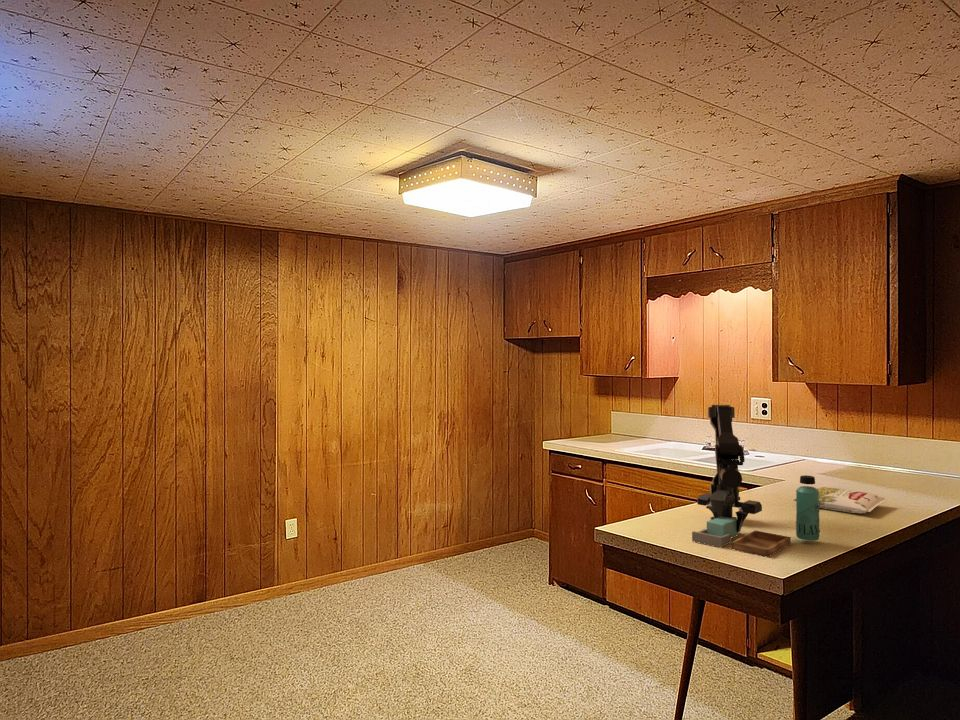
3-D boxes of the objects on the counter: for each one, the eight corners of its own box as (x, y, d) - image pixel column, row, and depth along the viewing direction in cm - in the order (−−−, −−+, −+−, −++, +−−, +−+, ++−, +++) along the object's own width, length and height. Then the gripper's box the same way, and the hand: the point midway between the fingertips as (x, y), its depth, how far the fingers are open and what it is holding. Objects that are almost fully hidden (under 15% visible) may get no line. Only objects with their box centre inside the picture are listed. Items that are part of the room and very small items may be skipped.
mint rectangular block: (723, 531, 209) (723, 515, 208) (740, 534, 204) (739, 518, 204) (706, 537, 202) (706, 521, 202) (723, 541, 198) (723, 525, 198)
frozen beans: (813, 481, 252) (887, 490, 234) (813, 496, 252) (887, 506, 234) (792, 492, 237) (869, 503, 219) (792, 508, 237) (870, 520, 219)
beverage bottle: (794, 543, 194) (794, 477, 194) (797, 538, 200) (796, 473, 199) (819, 547, 191) (818, 479, 190) (821, 541, 196) (820, 474, 196)
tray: (755, 536, 202) (755, 530, 202) (790, 543, 194) (790, 537, 194) (730, 549, 190) (730, 542, 190) (767, 557, 183) (767, 550, 183)
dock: (703, 536, 203) (703, 527, 203) (732, 542, 196) (731, 532, 196) (692, 541, 198) (692, 531, 198) (721, 547, 192) (721, 537, 192)
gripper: (688, 481, 206) (688, 530, 207) (746, 489, 193) (747, 542, 193) (705, 475, 214) (705, 522, 214) (762, 483, 200) (762, 534, 201)
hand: (729, 530), depth 205 cm, fingers closed on mint rectangular block, 6 cm apart
